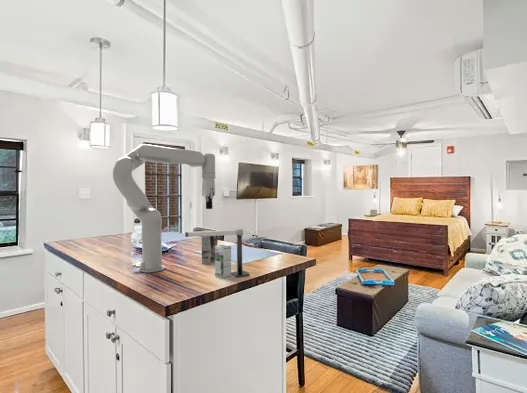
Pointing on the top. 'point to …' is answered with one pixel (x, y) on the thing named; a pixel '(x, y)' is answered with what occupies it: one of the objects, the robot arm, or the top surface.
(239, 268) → the stand
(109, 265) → the top surface
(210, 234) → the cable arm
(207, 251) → the coffee box
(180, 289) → the top surface
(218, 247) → the syrup box
